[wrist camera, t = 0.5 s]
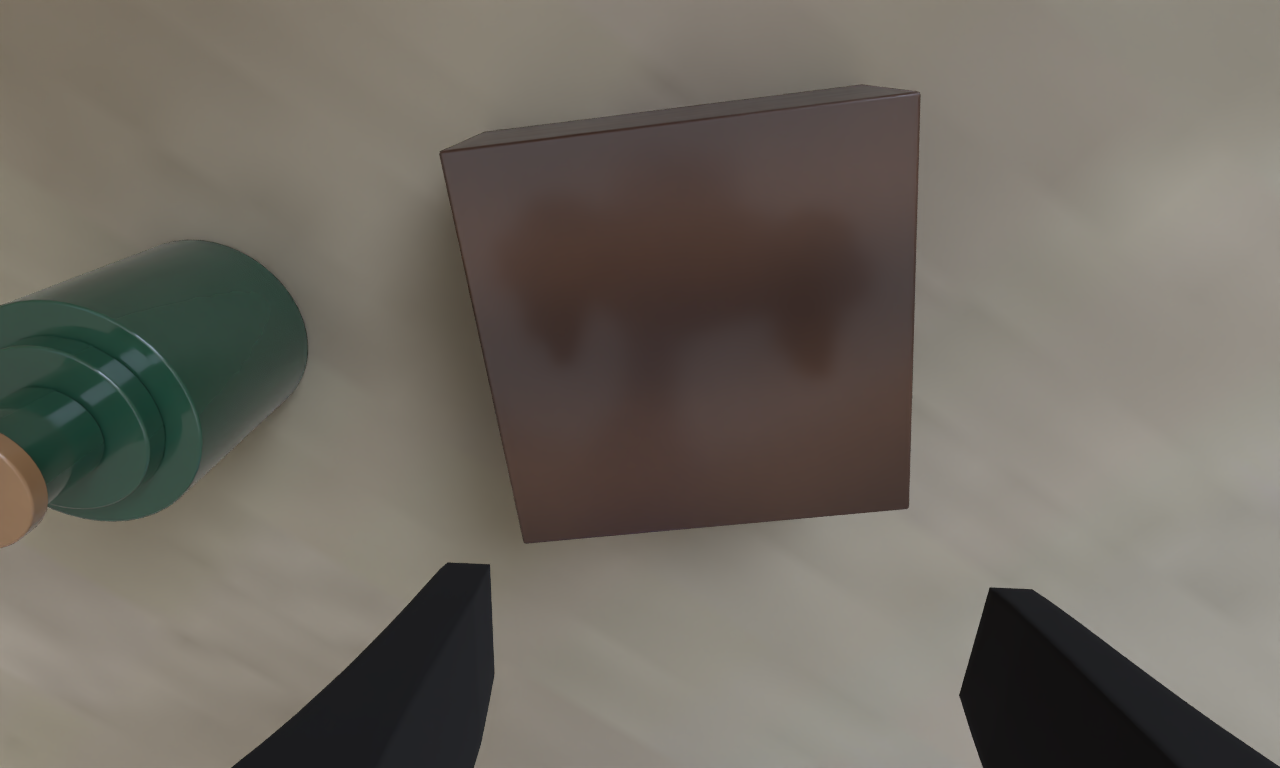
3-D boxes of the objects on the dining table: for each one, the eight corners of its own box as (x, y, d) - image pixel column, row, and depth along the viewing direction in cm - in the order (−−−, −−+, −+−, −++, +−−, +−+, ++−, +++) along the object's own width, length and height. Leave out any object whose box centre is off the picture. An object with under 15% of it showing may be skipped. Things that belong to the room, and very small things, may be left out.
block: (864, 430, 21) (909, 509, 17) (545, 461, 21) (523, 545, 18) (864, 83, 17) (922, 90, 14) (482, 131, 18) (437, 151, 14)
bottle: (303, 433, 21) (117, 633, 14) (121, 395, 21) (-169, 580, 13) (313, 264, 19) (103, 392, 12) (113, 218, 19) (-234, 321, 11)
